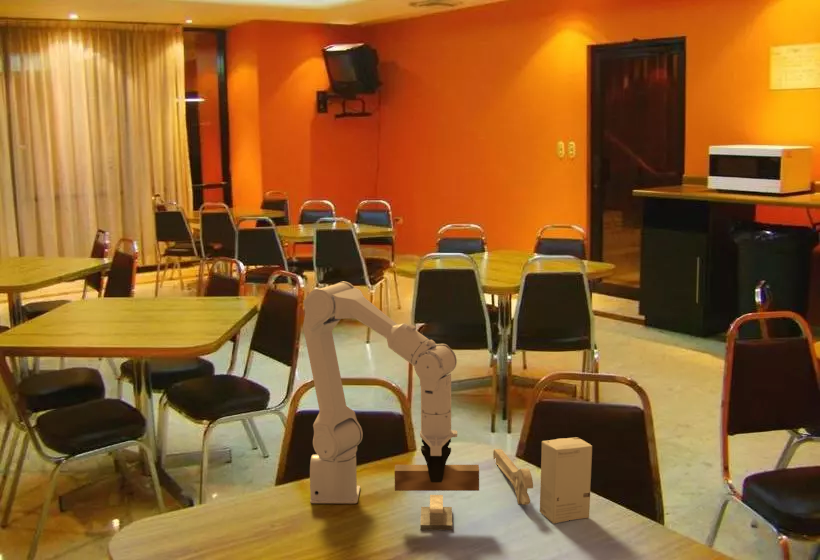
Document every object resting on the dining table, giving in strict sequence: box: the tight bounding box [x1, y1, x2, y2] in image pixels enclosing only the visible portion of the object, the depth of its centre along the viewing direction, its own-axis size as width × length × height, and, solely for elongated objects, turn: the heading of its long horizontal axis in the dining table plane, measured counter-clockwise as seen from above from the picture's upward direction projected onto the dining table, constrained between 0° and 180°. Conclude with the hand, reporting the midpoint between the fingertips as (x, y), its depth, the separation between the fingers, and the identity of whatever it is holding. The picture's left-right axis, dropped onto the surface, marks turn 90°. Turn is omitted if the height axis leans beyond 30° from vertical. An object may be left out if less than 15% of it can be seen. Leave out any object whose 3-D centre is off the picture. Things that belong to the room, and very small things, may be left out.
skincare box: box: [539, 436, 593, 525], centre depth 174 cm, size 8×6×15 cm
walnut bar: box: [394, 464, 480, 492], centre depth 172 cm, size 16×3×4 cm, turn 88°
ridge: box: [419, 494, 453, 531], centre depth 173 cm, size 6×8×4 cm
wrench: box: [492, 448, 534, 506], centre depth 189 cm, size 8×2×30 cm
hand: (436, 477), depth 172 cm, fingers closed on walnut bar, 3 cm apart
